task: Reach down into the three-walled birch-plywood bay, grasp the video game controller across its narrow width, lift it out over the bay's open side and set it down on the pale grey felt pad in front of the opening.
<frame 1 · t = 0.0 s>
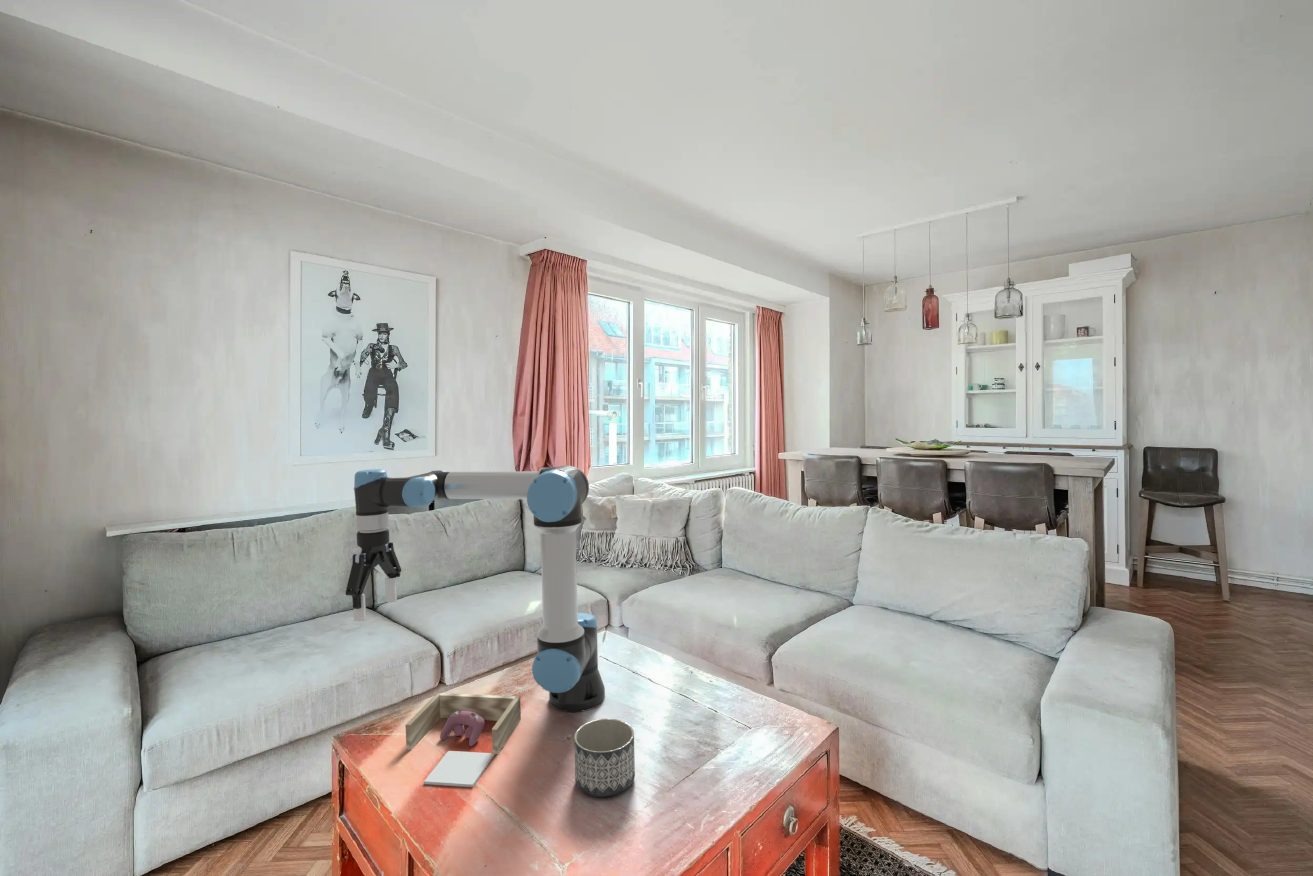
hand: (376, 610, 150), 28 cm above the table, fingers open, 13 cm apart
video game controller: (463, 738, 141), on the table
planter: (605, 782, 123), on the table
bay: (466, 732, 143), on the table
pad: (460, 769, 128), on the table
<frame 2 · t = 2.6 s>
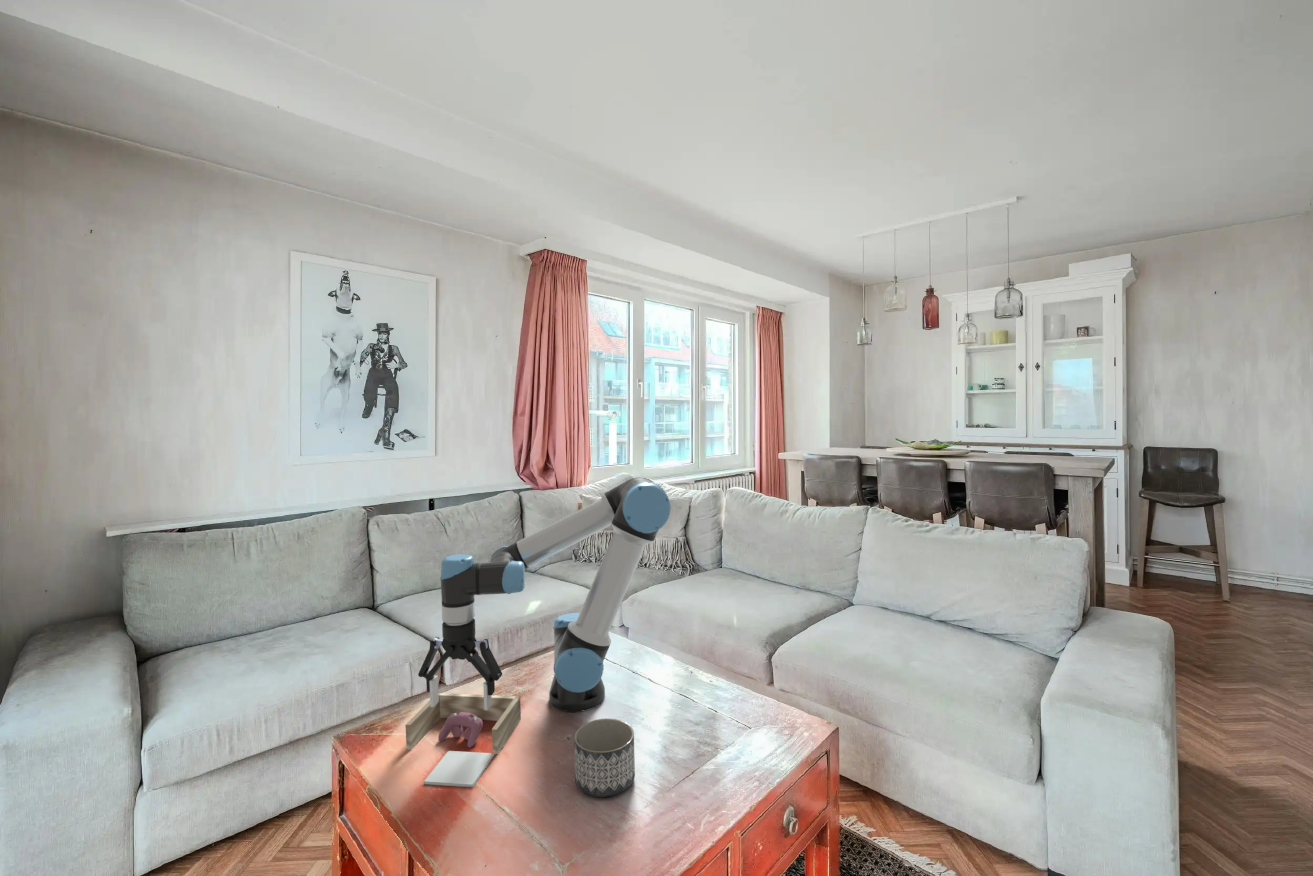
hand: (461, 706, 140), 8 cm above the table, fingers open, 13 cm apart
nothing on the table moved.
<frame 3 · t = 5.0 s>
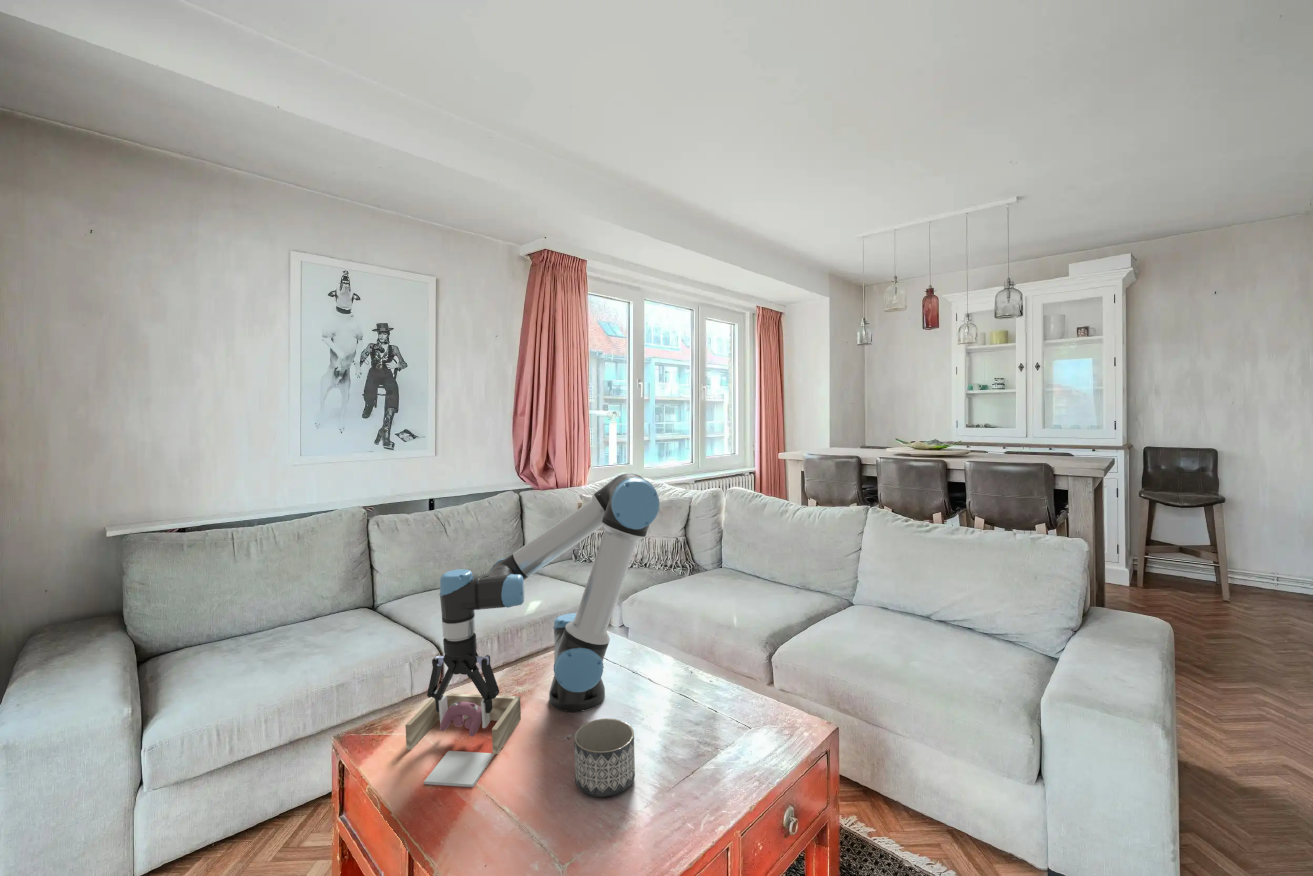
hand: (465, 724, 141), 3 cm above the table, fingers closed on video game controller, 10 cm apart
video game controller: (463, 729, 139), point 3 cm above the table, touching gripper
everything else where it was.
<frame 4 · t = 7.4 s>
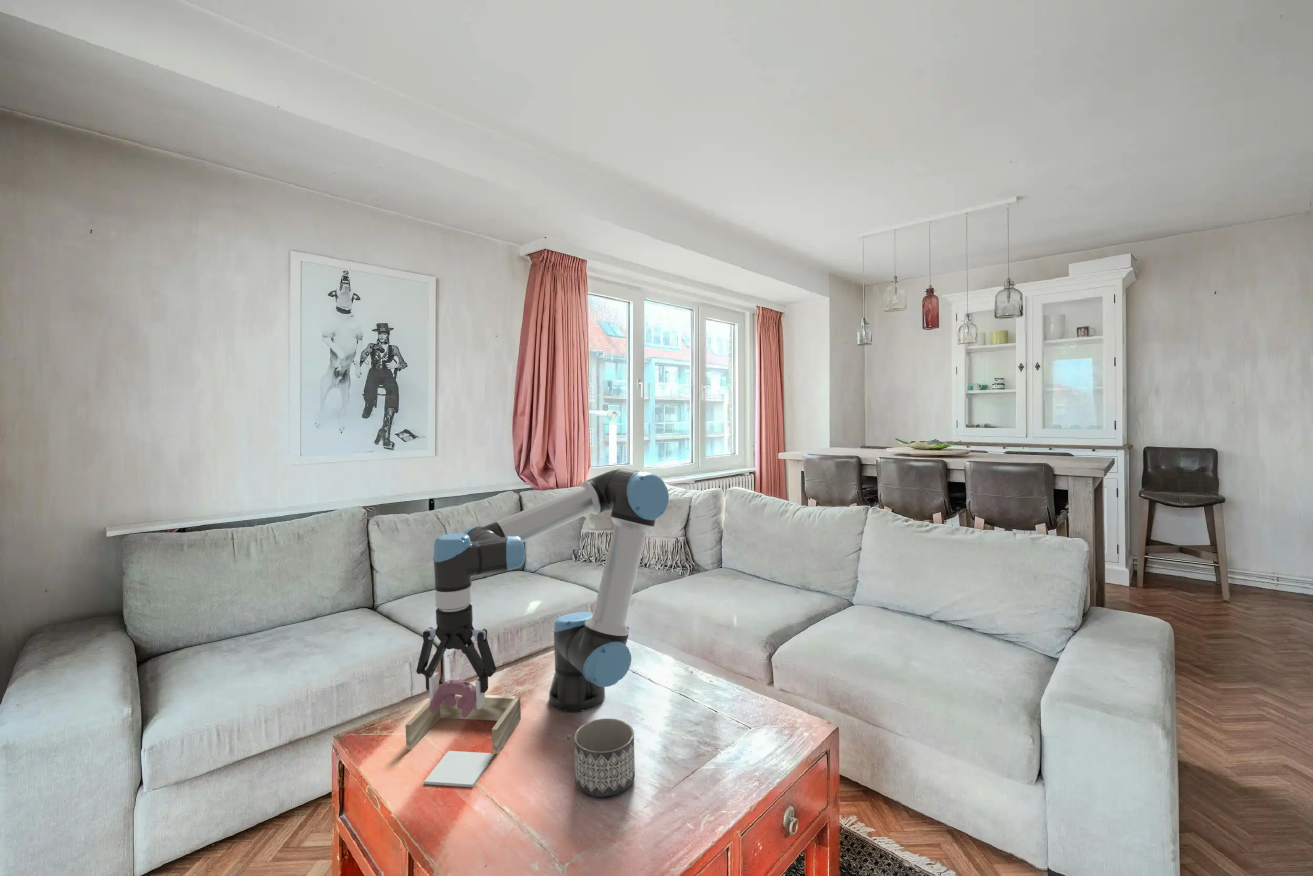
hand: (457, 705, 127), 15 cm above the table, fingers closed on video game controller, 10 cm apart
video game controller: (455, 710, 126), point 14 cm above the table, touching gripper
everything else where it was.
when the fingers open (2 cm above the table, at t = 10.2 s): video game controller stays where it is, resting on pad.
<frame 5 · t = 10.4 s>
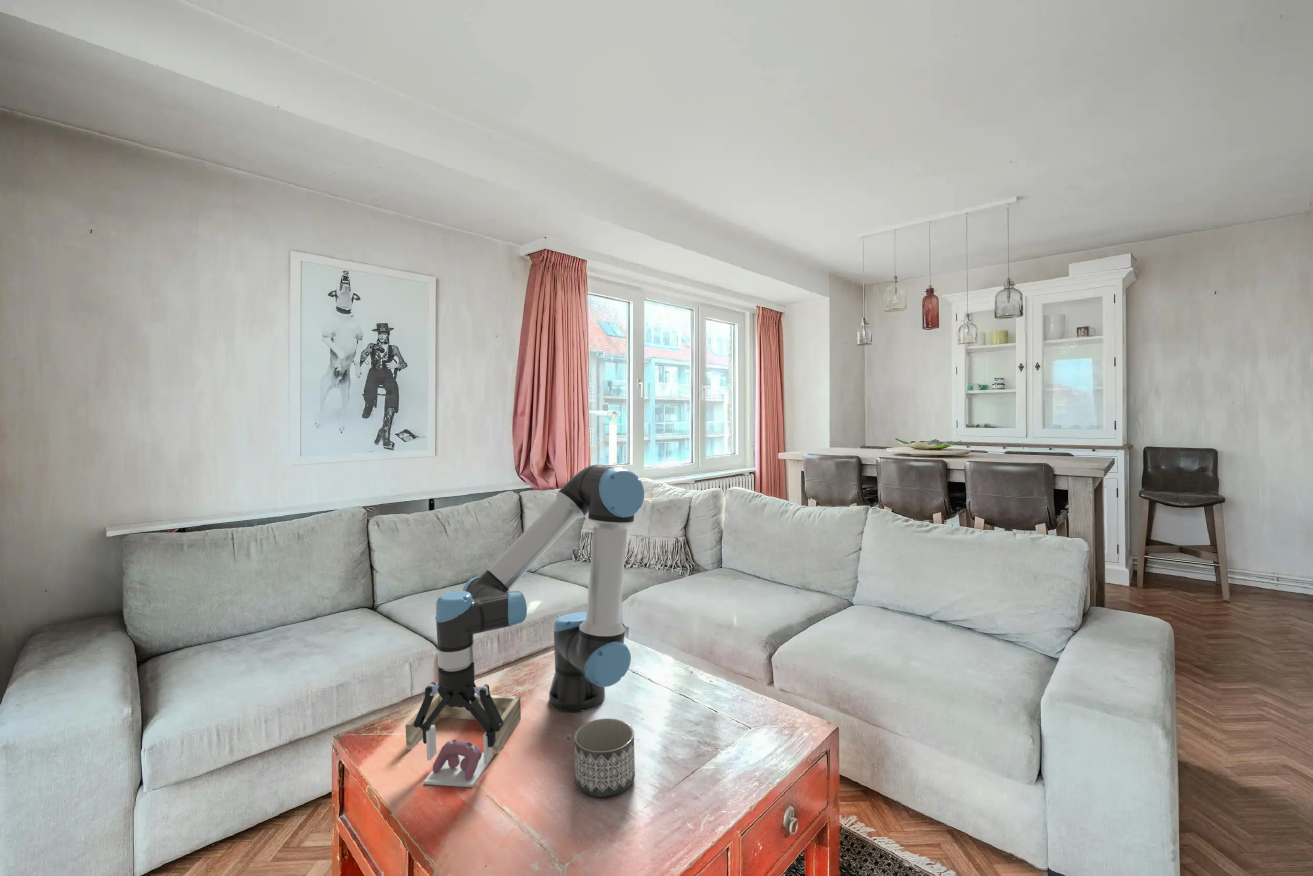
hand: (459, 758, 128), 3 cm above the table, fingers open, 12 cm apart
video game controller: (458, 771, 127), resting on pad
everything else where it was.
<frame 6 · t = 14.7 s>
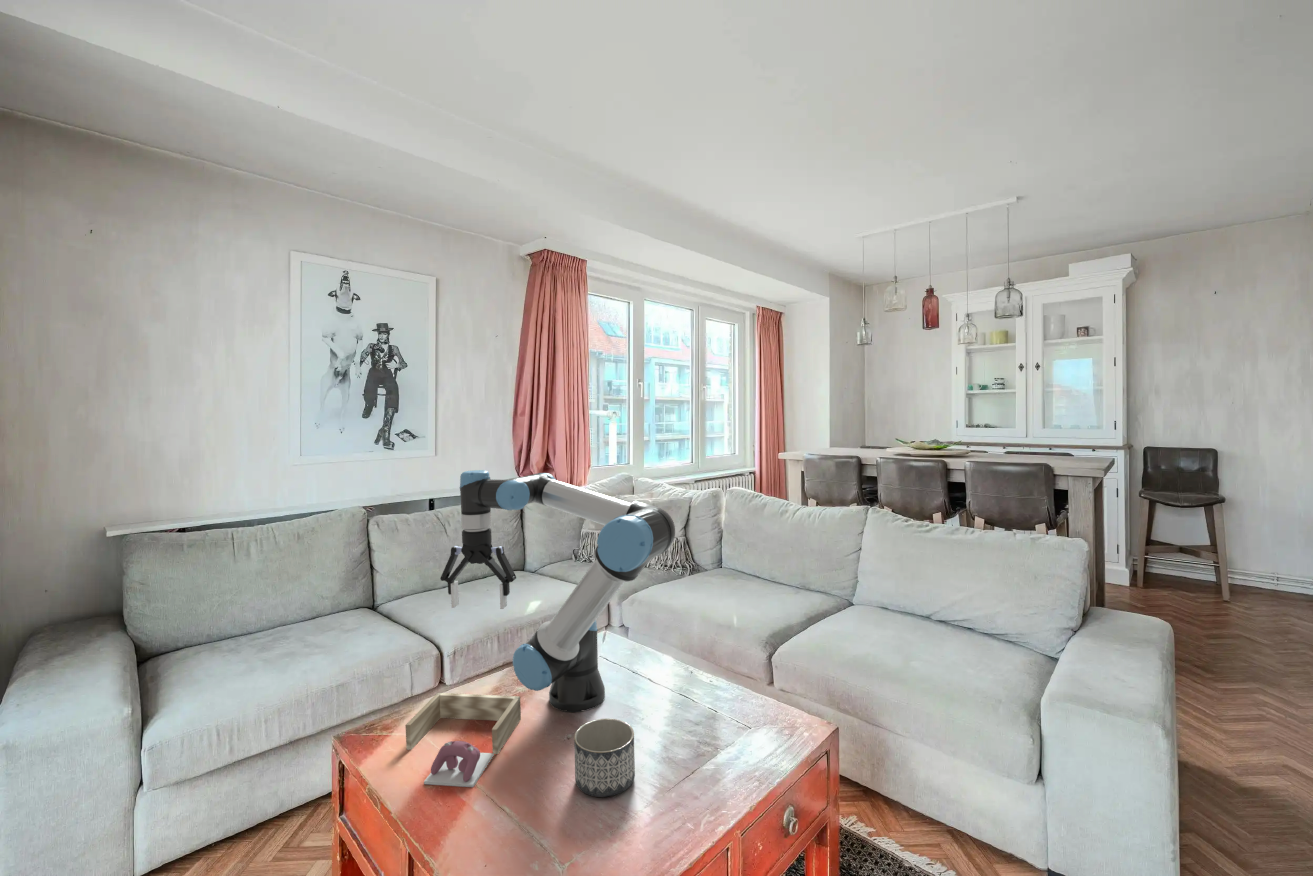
hand: (479, 606, 155), 27 cm above the table, fingers open, 13 cm apart
nothing on the table moved.
at the end: video game controller inside the target area (2.5 cm from its centre), resting on pad; video game controller inside the target area on the pad (1.8 cm from its centre), point 0.4 cm above the pad's base; the gripper is holding nothing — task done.
